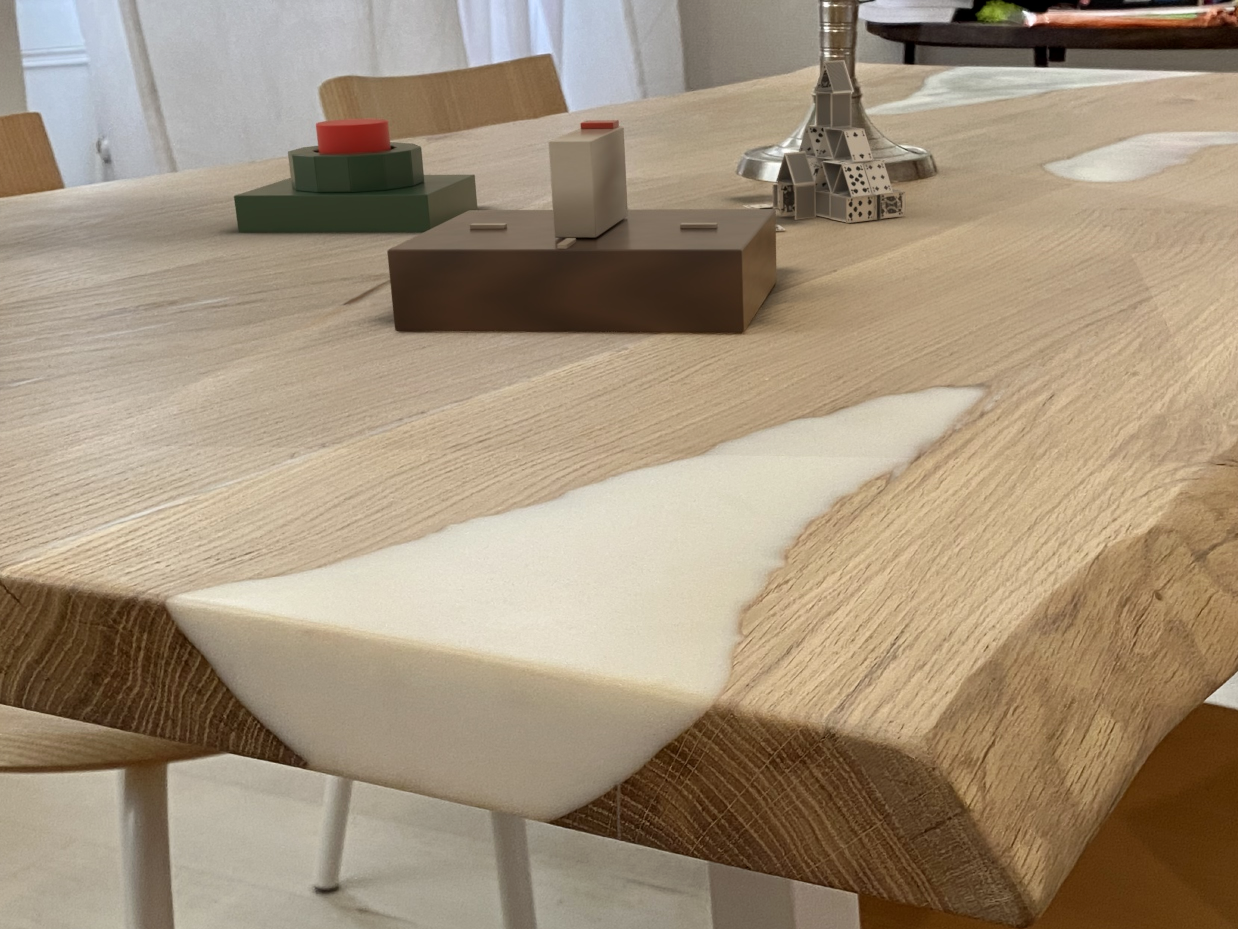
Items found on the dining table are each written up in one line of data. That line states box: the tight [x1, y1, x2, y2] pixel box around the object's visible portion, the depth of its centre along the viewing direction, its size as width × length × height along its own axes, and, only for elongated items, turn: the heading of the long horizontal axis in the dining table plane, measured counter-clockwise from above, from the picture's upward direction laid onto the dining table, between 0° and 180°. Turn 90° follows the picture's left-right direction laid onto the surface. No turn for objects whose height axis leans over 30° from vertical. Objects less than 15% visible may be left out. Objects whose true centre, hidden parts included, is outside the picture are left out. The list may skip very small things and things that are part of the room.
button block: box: [233, 141, 478, 234], centre depth 83 cm, size 10×8×4 cm
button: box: [315, 118, 391, 153], centre depth 83 cm, size 4×4×2 cm
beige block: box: [548, 119, 629, 238], centre depth 62 cm, size 6×2×4 cm, turn 172°
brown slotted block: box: [386, 208, 778, 334], centre depth 63 cm, size 13×10×3 cm
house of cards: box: [742, 59, 906, 232], centre depth 84 cm, size 9×9×8 cm
